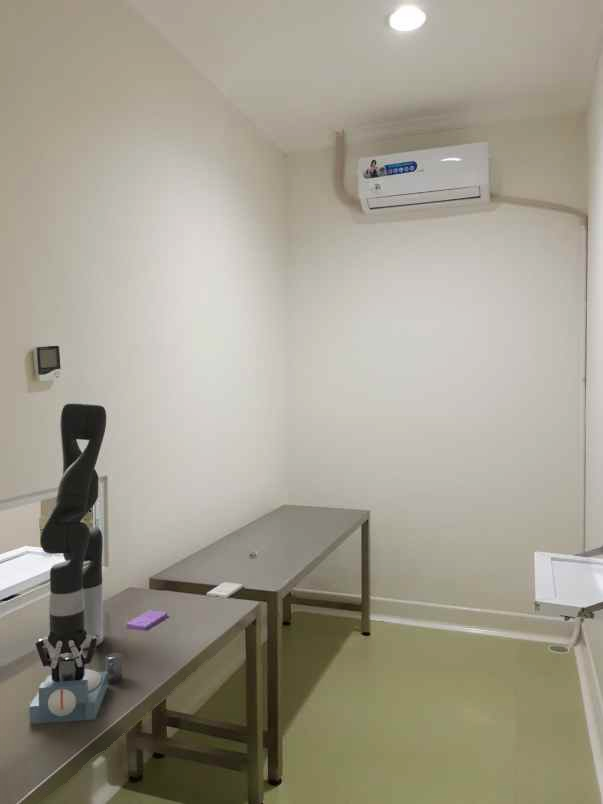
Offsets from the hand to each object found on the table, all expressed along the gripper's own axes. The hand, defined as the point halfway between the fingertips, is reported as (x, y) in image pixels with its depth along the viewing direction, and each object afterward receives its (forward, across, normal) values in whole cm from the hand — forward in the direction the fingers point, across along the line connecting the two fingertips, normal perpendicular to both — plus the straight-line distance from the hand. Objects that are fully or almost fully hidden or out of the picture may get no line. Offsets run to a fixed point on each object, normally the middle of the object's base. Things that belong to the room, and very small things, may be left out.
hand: (68, 681), depth 144 cm
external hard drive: (+7, -36, -78) cm, 86 cm away
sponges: (+7, -12, -52) cm, 54 cm away
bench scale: (+6, 0, -2) cm, 7 cm away
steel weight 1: (+1, 0, 0) cm, 1 cm away
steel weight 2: (+7, -8, -13) cm, 17 cm away
